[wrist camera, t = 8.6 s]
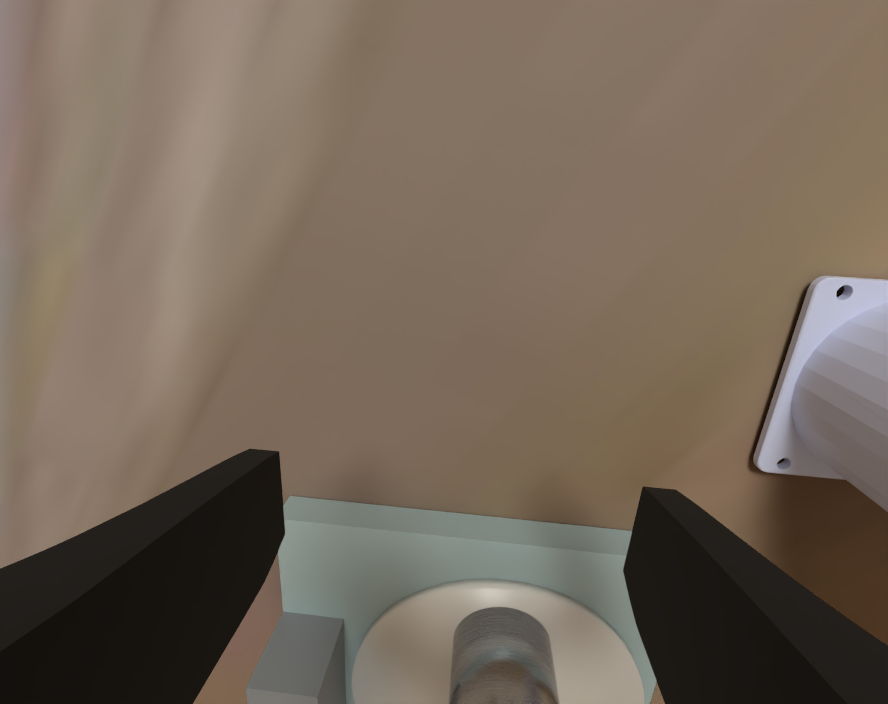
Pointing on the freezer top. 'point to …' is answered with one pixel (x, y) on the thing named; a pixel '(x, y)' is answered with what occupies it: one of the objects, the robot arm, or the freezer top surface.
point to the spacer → (502, 660)
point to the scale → (441, 604)
